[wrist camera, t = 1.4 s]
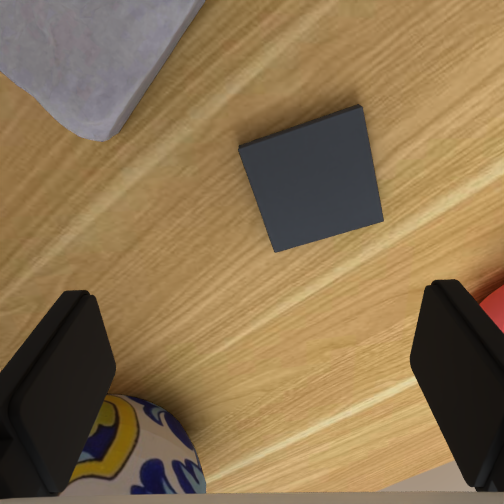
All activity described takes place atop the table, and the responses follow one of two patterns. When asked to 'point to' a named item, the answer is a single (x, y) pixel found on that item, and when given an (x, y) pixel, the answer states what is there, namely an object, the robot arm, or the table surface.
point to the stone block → (90, 55)
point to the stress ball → (495, 307)
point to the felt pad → (314, 179)
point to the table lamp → (136, 453)
